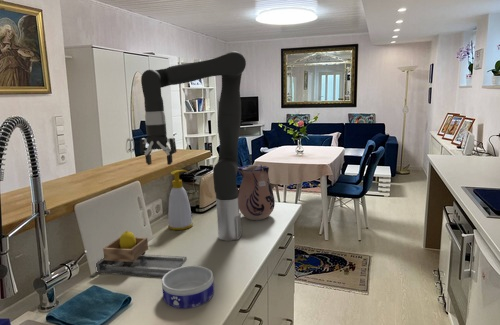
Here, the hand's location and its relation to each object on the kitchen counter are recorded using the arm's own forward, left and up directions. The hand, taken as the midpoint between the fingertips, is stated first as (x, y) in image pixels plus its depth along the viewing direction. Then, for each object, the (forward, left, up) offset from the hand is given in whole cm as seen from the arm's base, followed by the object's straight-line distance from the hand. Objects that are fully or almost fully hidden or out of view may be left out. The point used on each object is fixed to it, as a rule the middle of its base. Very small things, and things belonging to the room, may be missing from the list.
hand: (159, 164), depth 147 cm
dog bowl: (-24, +36, -34) cm, 55 cm away
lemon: (+5, +20, -28) cm, 35 cm away
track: (0, +20, -33) cm, 39 cm away
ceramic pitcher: (-29, -35, -33) cm, 56 cm away
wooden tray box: (+6, +20, -31) cm, 37 cm away
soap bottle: (+2, -20, -33) cm, 39 cm away
